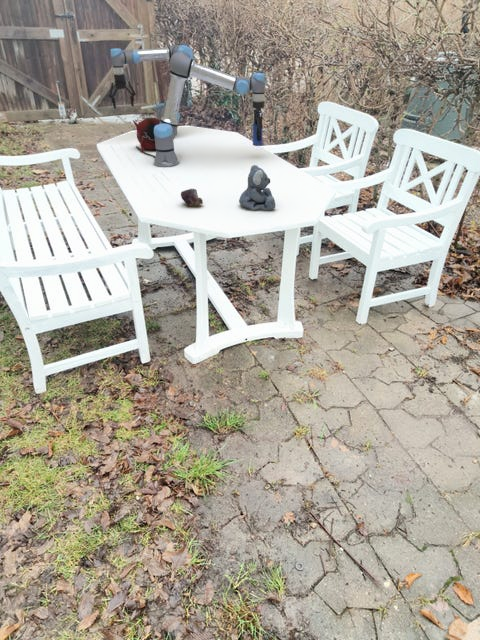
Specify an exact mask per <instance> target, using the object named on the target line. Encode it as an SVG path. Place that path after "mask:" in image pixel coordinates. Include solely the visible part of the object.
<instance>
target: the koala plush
mask: <svg viewBox="0 0 480 640" xmlns="http://www.w3.org/2000/svg"><path fill="white" fill-rule="evenodd" d="M270 183H271V178H269V176H268V175H267V173H266V172H265V170H264V169H263V168H261V167H259V165H257V164H253V165H250V170H249V173H248V176H247V188H246V189H245V190H244V191H243V192H242V193H241V194H240V197H239V199H238V203H239V204H240V206H241V207H242V208H246V209H247V210H252V211H255V210H261V211H272V210H274V209H275V208H276V200H275V198H274V196H273V194H272V191H271V188H270V187H268V186H269V185H270Z"/></svg>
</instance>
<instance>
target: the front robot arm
mask: <svg viewBox="0 0 480 640" xmlns="http://www.w3.org/2000/svg"><path fill="white" fill-rule="evenodd" d="M169 67H170V68H169V75H170V76H171V77H170V80H169V81H170V82H169V87H168V91H167V96H166V101H165V102H166V106H165V111H164V116H163V117H161V119H160V124H158V125H156V126H155V127H154V136H155V145H156V150H155V155H153V154H151V153H147V152H145V151H144V150H143V151H142V152H141V148H139V147H138V145H135V148H137V149H138V150H139V151H140V152H141V153H143V154H145V155H148V156H151V157H153V158H154V165H155V166H157V167H163V168H164V167H165V168H167V167H168V168H169V167H174V166H177V165H178V164H179V159H178V157H177V153H176V151H175V143H174V141H175V139H176V137H177V135H178V127H179V121H178V122H177V116H178V111H179V112H180V109H179V107H181V101H182V96H183V92H184V87H185V82H186V81H187V80H189V78H192V77H193V78H196V79H198V80H202V81H205V82H208V83H210V84H212V85H216V86H218V87H222V88H225V89H227V90H230V91H233V92H236V93H237V94H239V95H245V94H248V91H251V92H252V102H251V103H252V104H251V105H252V108H253V125H254V124H257V129H256V130H257V141H260V140H261V130H262V125H263V111H262V109H264V108H265V97H266V94H265V93H266V92H265V89H266V88H265V87H266V75H265V74H264V73H263V72H254V73H253V74H252V76H234V75H232V74H230V73H226V72H223V71H221V70H219V69H218V70H217V69H215V68H212V67H210V66H207V65H204V64H201V63H199V62H196V60H195V59H194V58H193V59H191V57H190V55H189V54H188V53H187V52H185V51H177V52H176V53H174V54H173V55H172V57H171V59H170V61H169ZM262 131H263V130H262Z"/></svg>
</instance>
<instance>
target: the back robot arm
mask: <svg viewBox="0 0 480 640" xmlns="http://www.w3.org/2000/svg"><path fill="white" fill-rule="evenodd" d="M177 51H185V52H187V53H188V54H189V55H190V57H191V59H193V60H194V52H193V50H192V48H191V47H190V46H188V45H185V44H174V45H167V46H165V47H162V48H161V47H160V48H142V49H139V48H138V49H121V48H117V47H115V48H111V49H110V58H111V59H110V60H111V64H112V65H111V66H112V72H113V74H114V75H113V80H114V82H110V87H109V91H108V95H107V97H108V98H110V101H111V104H112V105H113V109H117V106H116V99H115V98H116V97H115V96H116V94H117V92H118V91H119V90H125V91H126V92H127V93H128V94H129V95H130V96H129V98H130V99H129V100H130V105H131V107H134V106H135V105H134V104H135V103H134V102H135V96H137V93H136V92H135V90H134V87H133V86H132V85H131V81H129V80H127V81H126V75H125V67H124V66H125V65H136V64H140V62H155V61H166V62H170V59H171V57H172V55H173V54H174V53H176V52H177ZM114 86H115V87H114ZM127 86H128V87H127ZM114 97H115V98H114ZM165 106H166V101H165V102H163V103H157V104H156V105H155V110H156V119H159V120H160V119H161V117H163V116H164V111H165ZM180 108H181V106H179V111H178V116H177V122H178V123H179V121H180V118H181V114H180Z"/></svg>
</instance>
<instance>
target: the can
mask: <svg viewBox="0 0 480 640" xmlns="http://www.w3.org/2000/svg"><path fill="white" fill-rule="evenodd" d="M263 127H264V126H263V124H262V130H261V140H260V141H257V130H256V129H257V124H254V123H253V124H252V146H254V147H261V146H263V129H264V128H263Z"/></svg>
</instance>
